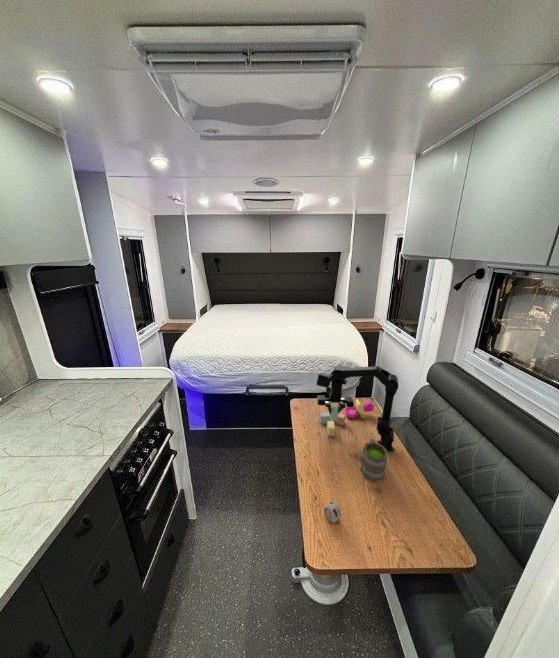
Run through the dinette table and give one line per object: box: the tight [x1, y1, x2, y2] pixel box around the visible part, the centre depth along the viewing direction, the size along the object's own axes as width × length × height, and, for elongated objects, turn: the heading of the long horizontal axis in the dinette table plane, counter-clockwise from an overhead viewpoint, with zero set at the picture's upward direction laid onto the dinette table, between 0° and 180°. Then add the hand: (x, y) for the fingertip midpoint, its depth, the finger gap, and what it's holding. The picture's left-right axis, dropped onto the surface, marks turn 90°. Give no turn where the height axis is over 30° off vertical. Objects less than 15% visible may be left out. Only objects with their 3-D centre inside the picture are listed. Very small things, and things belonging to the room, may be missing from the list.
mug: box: [359, 437, 390, 482], centre depth 118 cm, size 16×11×12 cm
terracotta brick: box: [332, 412, 347, 426], centre depth 150 cm, size 6×4×5 cm, turn 57°
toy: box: [343, 398, 375, 419], centre depth 156 cm, size 10×18×10 cm, turn 91°
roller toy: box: [323, 501, 342, 524], centre depth 97 cm, size 4×6×6 cm
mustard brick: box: [326, 420, 336, 437], centre depth 142 cm, size 6×4×5 cm, turn 177°
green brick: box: [330, 404, 338, 421], centre depth 139 cm, size 6×4×5 cm, turn 177°
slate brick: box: [319, 411, 332, 425], centre depth 151 cm, size 6×4×5 cm, turn 97°
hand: (333, 414), depth 139 cm, fingers closed on green brick, 3 cm apart
